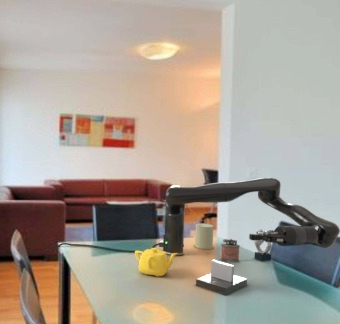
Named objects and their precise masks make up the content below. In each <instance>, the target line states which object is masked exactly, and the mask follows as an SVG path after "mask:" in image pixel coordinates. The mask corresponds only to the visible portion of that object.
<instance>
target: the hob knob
mask: <svg viewBox="0 0 340 324" xmlns="http://www.w3.org/2000/svg"><path fill="white" fill-rule="evenodd" d="M210 274H211V276H212V277H215V278H219V279H222V280H225V281H229V282H233V280H234V275H235V265H233V264H230V263H226V262H224V261H218V260H216V259H212V260H210Z"/></svg>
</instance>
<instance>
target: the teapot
mask: <svg viewBox="0 0 340 324" xmlns="http://www.w3.org/2000/svg"><path fill="white" fill-rule="evenodd" d="M134 251H135V252H134V255H135V256H134V257H135V258H136V260H137V261H138V270H139V272H140V273H142V274H143V275H147V276H149V275H150V276H151V275H152V276H155V277H157V278H159V277H160V278H161V277H163V276H165V274H166V273H167V272H168V270H169V269H170V268H171V267H172V265H173V263H174V257H176V256H175V255H176V254H178V253H173V254H171V255H169V256H170V257H169V258H168V254H166V252H165V251H163V250H161V249H160V248H157V247H154V248H152V247H151V248H146V249H145V250H143V252H142V251H141V250H134ZM139 254H141V255H139Z"/></svg>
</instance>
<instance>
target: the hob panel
mask: <svg viewBox="0 0 340 324" xmlns="http://www.w3.org/2000/svg"><path fill="white" fill-rule="evenodd" d="M247 285H248V278H246V277H242V276H240V275H235V274H234V280H233V282H229V281H225V280H222V279H219V278H215V277H212V276H211V273H209V274H208V273H206V275H204V276H200V277H198V278H196V279H195V286H196V287H200V288H201V289H205V290H208V291H211V292H214V293H218V294H221V295H224V296H227V295H229V294H231V293H233V292H235V291H237V290H240V289H242V288H243V287H246V286H247Z"/></svg>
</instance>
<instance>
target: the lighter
mask: <svg viewBox="0 0 340 324" xmlns="http://www.w3.org/2000/svg"><path fill="white" fill-rule="evenodd" d="M220 246H221V252H220V253H221V254H220V255H221V256H220V262H227V263H239V262H240V244H238V240H236V239H232V238H229V239H227V238H224V239H223V240H222V243H220Z"/></svg>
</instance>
